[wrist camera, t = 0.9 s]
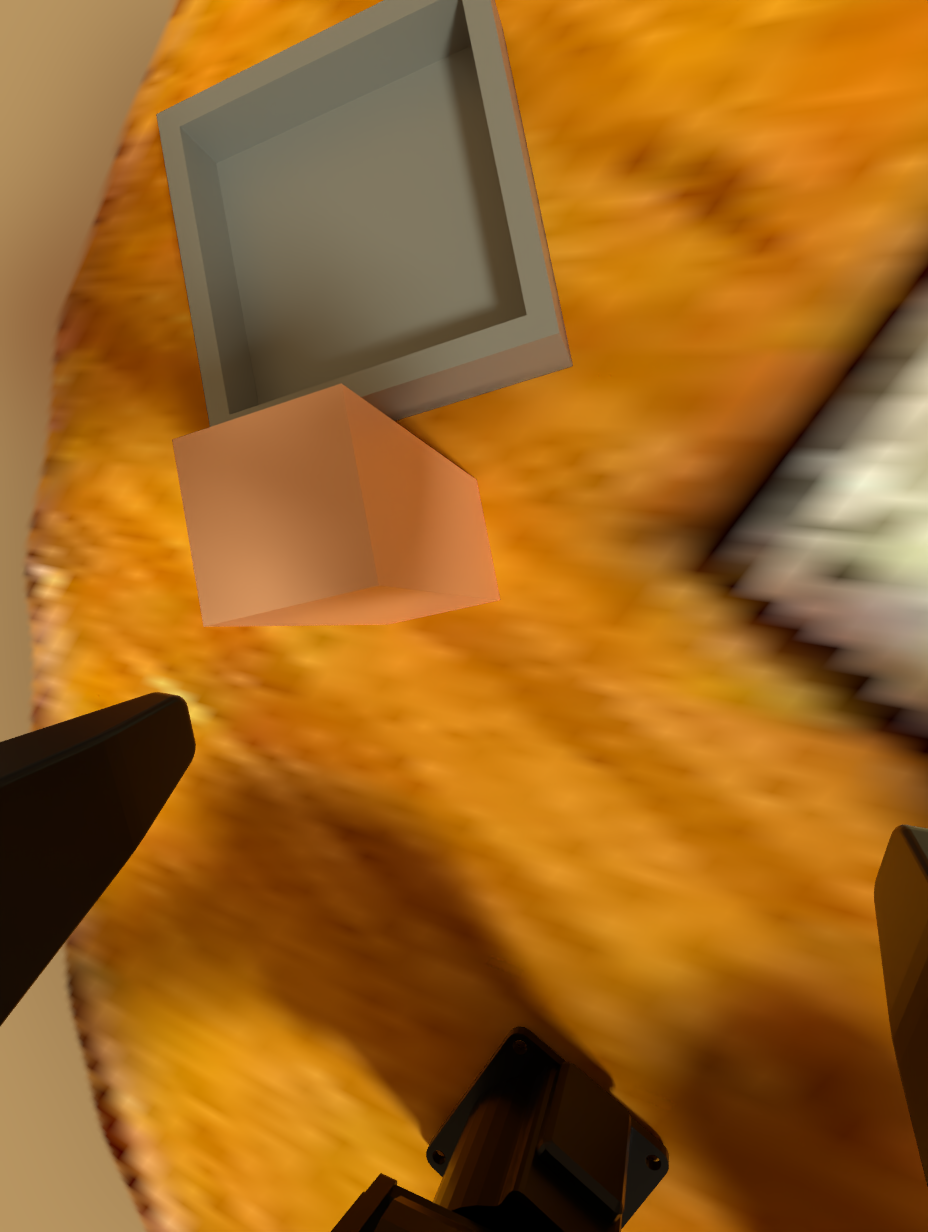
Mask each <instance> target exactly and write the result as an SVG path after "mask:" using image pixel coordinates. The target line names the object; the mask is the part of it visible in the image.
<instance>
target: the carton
mask: <svg viewBox="0 0 928 1232" xmlns="http://www.w3.org/2000/svg"><path fill="white" fill-rule="evenodd" d="M172 441H173V447H174V453H175V459H176V465H177V471H178V477H179V483H180V489H181V495H182V500H183V506H184V512H185V518H186V524H187V530H188V536H189V542H190V548H191V554H192V560H193V566H194V572H195V578H196V584H197V590H198V596H199V602H200V608H201V614H202V620H203V626H204V627H209V626H296V625H383V624H392V623H397V622H401V621H406V620H411V619H415V618H420V617H424V616H429V615H434V614H438V613H443V612H448V611H452V610H457V609H461V608H466V607H471V606H475V605H480V604H484V603H489V602H494V601H498V600H500V596H499V591H498V586H497V581H496V576H495V571H494V566H493V561H492V555H491V550H490V545H489V540H488V535H487V530H486V525H485V520H484V515H483V510H482V505H481V500H480V494H479V489H478V484H477V480H476V479H475V478H473V477H472V476H470V475H469V474H468V473H466V472H465V471H463V470H462V469H461V468H459V467H458V466H456V465H455V464H454V463H452V462H451V461H449V460H448V459H447V458H445V457H444V456H442V455H441V454H440V453H438V452H437V451H435V450H434V449H433V448H431V447H430V446H428V445H427V444H426V443H424V442H423V441H421V440H420V439H419V438H417V437H416V436H414V435H413V434H412V433H410V432H409V431H407V430H406V429H405V428H403V427H402V426H400V425H399V424H398V423H396V422H395V421H393V420H392V419H391V418H389V417H388V416H386V415H385V414H384V413H382V412H381V411H379V410H378V409H377V408H375V407H374V406H372V405H371V404H370V403H368V402H367V401H365V400H364V399H363V398H361V397H360V396H358V395H357V394H356V393H354V392H353V391H351V390H350V389H349V388H347V387H346V386H344V385H343V384H342V383H341V384H338V385H335V386H332V387H329V388H326V389H323V390H320V391H317V392H314V393H311V394H308V395H305V396H302V397H299V398H296V399H293V400H290V401H287V402H284V403H281V404H278V405H275V406H272V407H269V408H266V409H263V410H260V411H257V412H254V413H251V414H248V415H245V416H242V417H239V418H236V419H233V420H230V421H227V422H224V423H221V424H218V425H215V426H212V427H209V428H206V429H203V430H200V431H197V432H194V433H191V434H188V435H185V436H182V437H179V438H176V439H173V440H172Z"/></svg>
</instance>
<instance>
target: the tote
mask: <svg viewBox="0 0 928 1232" xmlns="http://www.w3.org/2000/svg"><path fill="white" fill-rule="evenodd" d="M157 120H158V126H159V132H160V138H161V144H162V149H163V155H164V161H165V167H166V173H167V179H168V184H169V190H170V196H171V202H172V208H173V214H174V219H175V225H176V231H177V237H178V243H179V249H180V254H181V260H182V266H183V272H184V278H185V284H186V289H187V295H188V301H189V307H190V313H191V319H192V324H193V330H194V336H195V342H196V348H197V354H198V359H199V365H200V371H201V377H202V383H203V389H204V394H205V400H206V406H207V412H208V418H209V424H210V427H212V426H215V425H218V424H221V423H224V422H227V421H230V420H233V419H236V418H239V417H242V416H245V415H248V414H251V413H254V412H257V411H260V410H263V409H266V408H269V407H272V406H275V405H278V404H281V403H284V402H287V401H290V400H293V399H296V398H299V397H302V396H305V395H308V394H311V393H314V392H317V391H320V390H323V389H326V388H329V387H332V386H335V385H338V384H341V383H342V384H343V385H344V386H346V387H347V388H349V389H350V390H351V391H353V392H354V393H356V394H357V395H358V396H360V397H361V398H363V399H364V400H365V401H367V402H368V403H370V404H371V405H372V406H374V407H375V408H377V409H378V410H379V411H381V412H382V413H384V414H385V415H386V416H388V417H389V418H391V419H392V420H393V421H396V420H399V419H403V418H406V417H409V416H412V415H416V414H419V413H422V412H425V411H429V410H432V409H435V408H438V407H442V406H445V405H448V404H451V403H455V402H458V401H461V400H464V399H468V398H471V397H474V396H477V395H481V394H484V393H487V392H490V391H494V390H497V389H500V388H503V387H507V386H510V385H513V384H516V383H520V382H523V381H526V380H529V379H533V378H536V377H539V376H542V375H546V374H549V373H552V372H555V371H559V370H562V369H565V368H568V367H572V366H573V365H572V360H571V355H570V350H569V345H568V341H567V336H566V331H565V326H564V321H563V317H562V312H561V307H560V302H559V297H558V293H557V288H556V283H555V278H554V273H553V269H552V264H551V259H550V254H549V249H548V245H547V240H546V235H545V230H544V225H543V221H542V216H541V211H540V206H539V201H538V197H537V192H536V187H535V182H534V177H533V173H532V168H531V163H530V158H529V153H528V149H527V144H526V139H525V134H524V129H523V125H522V120H521V115H520V110H519V105H518V101H517V96H516V91H515V86H514V81H513V77H512V72H511V67H510V62H509V57H508V53H507V48H506V43H505V38H504V33H503V29H502V25H501V21H500V18H499V14H498V11H497V7H496V4H495V0H384V1H382V2H380V3H378V4H376V5H374V6H372V7H370V8H368V9H366V10H364V11H362V12H360V13H358V14H356V15H354V16H352V17H350V18H348V19H346V20H344V21H342V22H340V23H338V24H336V25H334V26H332V27H330V28H328V29H326V30H324V31H322V32H320V33H318V34H316V35H314V36H312V37H310V38H308V39H306V40H304V41H302V42H300V43H298V44H296V45H294V46H292V47H290V48H288V49H286V50H284V51H282V52H280V53H278V54H276V55H274V56H272V57H270V58H268V59H266V60H264V61H262V62H260V63H258V64H256V65H254V66H252V67H250V68H248V69H246V70H244V71H242V72H240V73H238V74H236V75H234V76H232V77H230V78H228V79H226V80H224V81H222V82H220V83H218V84H216V85H214V86H212V87H210V88H208V89H206V90H204V91H202V92H200V93H198V94H196V95H194V96H192V97H190V98H188V99H186V100H184V101H182V102H180V103H178V104H176V105H174V106H172V107H170V108H168V109H166V110H164V111H162V112H160V113H158V114H157Z"/></svg>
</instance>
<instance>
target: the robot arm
mask: <svg viewBox="0 0 928 1232" xmlns="http://www.w3.org/2000/svg"><path fill="white" fill-rule="evenodd" d="M195 746H196V744H195V738H194V734H193V729H192V725H191V720H190V715H189V711H188V706H187V703H186V702H185V700H184V699H183V698H181V697H180V696H177V695H172V694H166V693H160V692H154V693H150V694H147V695H144V696H141V697H138V698H135V699H132V700H129V701H125V702H122V703H119V704H116V705H113V706H110V707H107V708H104V709H101V710H98V711H95V712H92V713H89V714H86V715H82V716H79V717H76V718H73V719H70V720H67V721H64V722H61V723H58V724H55V725H52V726H49V727H46V728H43V729H39V730H36V731H33V732H30V733H27V734H24V735H21V736H18V737H15V738H12V739H9V740H6V741H3V742H0V1026H1V1025H2V1024H3V1022H4V1021H5V1020H6V1018H7V1017H8V1015H9V1014H10V1013H11V1012H12V1010H13V1009H14V1008H15V1007H16V1005H17V1004H18V1003H19V1001H20V1000H21V999H22V998H23V996H24V995H25V994H26V992H27V991H28V990H29V988H30V987H31V986H32V984H33V983H34V982H35V981H36V979H37V978H38V976H39V975H40V974H41V973H42V972H43V970H44V969H45V968H46V966H47V965H48V964H49V962H50V961H51V960H52V959H53V957H54V956H55V955H56V953H57V952H58V951H59V949H60V948H61V947H62V946H63V944H64V943H65V942H66V940H67V939H68V938H69V936H70V935H71V934H72V932H73V931H74V930H75V929H76V927H77V926H78V925H79V923H80V922H81V921H82V919H83V918H84V917H85V916H86V914H87V913H88V912H89V910H90V909H91V908H92V906H93V905H94V904H95V903H96V901H97V900H98V899H99V897H100V896H101V895H102V893H103V892H104V891H105V890H106V888H107V887H108V886H109V884H110V883H111V882H112V880H113V879H114V878H115V877H116V875H117V874H118V873H119V871H120V870H121V869H122V867H123V866H124V865H125V863H126V862H127V861H128V859H129V858H130V857H131V855H132V854H133V853H134V851H135V850H136V848H137V847H138V845H139V844H140V842H141V841H142V839H143V838H144V836H145V835H146V833H147V831H148V830H149V828H150V827H151V825H152V824H153V822H154V820H155V819H156V817H157V816H158V814H159V812H160V811H161V809H162V808H163V806H164V804H165V803H166V801H167V800H168V798H169V797H170V795H171V793H172V792H173V790H174V789H175V787H176V785H177V784H178V782H179V781H180V779H181V778H182V776H183V774H184V773H185V771H186V770H187V768H188V766H189V765H190V763H191V761H192V759H193V757H194V754H195ZM874 903H875V911H876V919H877V927H878V935H879V943H880V951H881V958H882V966H883V974H884V982H885V990H886V998H887V1006H888V1014H889V1021H890V1028H891V1035H892V1041H893V1046H894V1050H895V1055H896V1059H897V1064H898V1068H899V1072H900V1077H901V1081H902V1085H903V1089H904V1093H905V1097H906V1101H907V1105H908V1109H909V1113H910V1117H911V1121H912V1125H913V1129H914V1133H915V1137H916V1141H917V1145H918V1149H919V1154H920V1158H921V1162H922V1166H923V1170H924V1174H925V1178H926V1182H927V1186H928V829H926V828H921V827H915V826H909V825H900V826H898V827H896V828H895V830H894V831H893V832H892V834H891V837H890V840H889V843H888V846H887V848H886V851H885V854H884V857H883V860H882V863H881V866H880V869H879V872H878V875H877V878H876V881H875V888H874ZM516 1040H521V1041H523V1042H524V1043H525V1044H526V1046H527V1047H526V1048H521V1047H519V1046H518V1045H517V1044H516ZM436 1150H440V1151H441V1152H443V1154H444V1155H445V1156H441V1155H439V1154H438V1153H437V1151H436ZM649 1155H655V1156H657V1157H658V1158H659V1159H660V1160H659V1161H652V1160H650V1159H649V1158H648V1157H647V1156H649ZM426 1157H427V1160H428V1163H429V1164H430V1165H431V1167H432V1168H433V1169H434V1170H436V1171H437V1172H438V1173H439V1174H440V1175H441V1176H442V1177H443V1179H442V1181H441V1183H440V1186H439V1188H438V1191H437V1193H436V1195H435V1198H434V1200H433V1202H431V1201H429V1200H427V1199H425V1198H423V1197H421V1196H419V1195H416V1194H414V1193H412V1192H410V1191H408V1190H406V1189H404V1188H402V1187H399V1186H397V1180H395V1179H392V1178H390V1177H388V1176H386V1175H384V1174H382V1173H381V1174H380V1175H379V1176H378V1177H377V1178H376V1180H375V1181H374V1182H373V1183H372V1184H371V1186H370V1187H369V1188H368V1189H367V1191H366V1192H363V1193H362V1194H361V1195H360V1196H359V1198H358V1199H357V1200H356V1201H355V1202H354V1204H353V1205H352V1206H351V1207H350V1209H349V1210H348V1211H347V1212H346V1214H345V1215H344V1216H343V1217H342V1218H341V1220H340V1221H339V1222H338V1223H337V1225H336V1226H335V1227H334V1228H333V1230H332V1231H331V1232H621V1229H622V1228H623V1227H624V1225H625V1224H626V1223H627V1222H628V1220H629V1219H630V1218H631V1217H632V1215H633V1214H634V1213H635V1212H636V1211H637V1209H638V1208H639V1207H640V1206H641V1204H642V1203H643V1202H644V1201H645V1199H646V1198H647V1197H648V1196H649V1194H650V1193H651V1192H652V1191H653V1190H654V1188H655V1187H656V1186H657V1185H658V1183H659V1182H660V1181H661V1180H662V1178H663V1177H664V1176H665V1175H666V1173H667V1171H668V1169H669V1154H668V1151H667V1149H666V1147H665V1146H664V1145H663V1144H662V1143H661V1142H660V1141H659V1140H657V1139H656V1138H655V1137H654V1136H653V1135H652V1134H650V1133H649V1132H648V1131H647V1130H646V1129H645V1128H643V1127H642V1126H641V1125H640V1124H639V1123H638V1122H636V1121H635V1120H634V1119H633V1118H632V1117H631V1116H630V1113H629V1111H628V1110H627V1109H626V1108H624V1107H623V1106H622V1105H621V1104H620V1103H618V1102H617V1101H616V1100H615V1099H614V1098H613V1097H611V1096H610V1095H609V1094H608V1093H607V1092H606V1091H604V1090H603V1089H602V1088H601V1087H600V1086H599V1085H597V1084H596V1083H595V1082H594V1081H593V1080H591V1079H590V1078H589V1077H588V1076H587V1075H586V1074H584V1073H583V1072H582V1071H581V1070H580V1069H579V1068H577V1067H576V1066H575V1065H574V1064H573V1063H569V1062H566V1061H565V1060H564V1059H563V1058H561V1057H560V1056H559V1055H558V1054H557V1053H556V1052H554V1051H553V1050H552V1049H551V1048H550V1047H548V1046H547V1045H546V1044H545V1043H544V1042H543V1041H541V1040H540V1039H539V1038H538V1037H537V1036H536V1035H534V1034H533V1033H532V1032H531V1031H530V1030H528V1029H526V1028H524V1027H516V1028H514V1029H513V1030H512V1031H511V1032H510V1033H509V1034H508V1036H507V1037H506V1039H505V1040H504V1041H503V1043H502V1044H501V1045H500V1047H499V1048H498V1050H497V1051H496V1052H495V1054H494V1055H493V1056H492V1058H491V1059H490V1061H489V1062H488V1063H487V1065H486V1066H485V1067H484V1069H483V1070H482V1072H481V1073H480V1074H479V1076H478V1077H477V1078H476V1080H475V1081H474V1083H473V1084H472V1085H471V1087H470V1088H469V1089H468V1091H467V1092H466V1094H465V1095H464V1096H463V1098H462V1099H461V1100H460V1102H459V1103H458V1104H457V1106H456V1107H455V1109H454V1110H453V1111H452V1113H451V1114H450V1115H449V1117H448V1118H447V1120H446V1121H445V1122H444V1124H443V1125H442V1126H441V1128H440V1129H439V1131H438V1132H437V1133H436V1135H435V1136H434V1137H433V1139H432V1141H431V1143H430V1145H429V1147H428V1149H427V1152H426Z"/></svg>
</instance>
